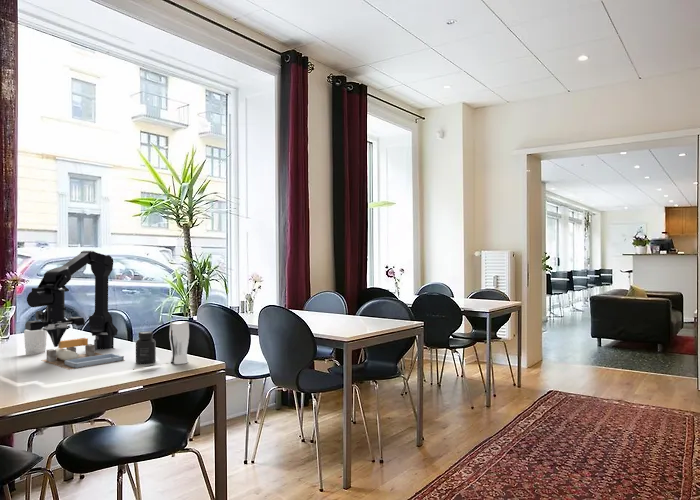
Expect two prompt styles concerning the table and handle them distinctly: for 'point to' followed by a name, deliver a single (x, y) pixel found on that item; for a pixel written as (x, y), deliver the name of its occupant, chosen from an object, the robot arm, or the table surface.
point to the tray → (93, 360)
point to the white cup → (35, 341)
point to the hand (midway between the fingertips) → (55, 346)
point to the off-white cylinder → (65, 354)
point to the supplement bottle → (145, 348)
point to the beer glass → (179, 341)
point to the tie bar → (73, 343)
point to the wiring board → (61, 363)
